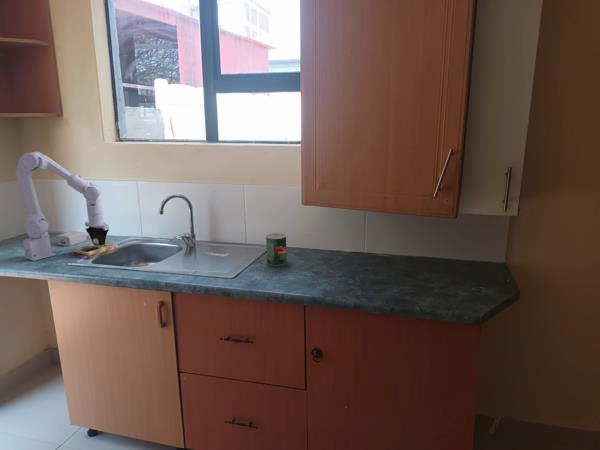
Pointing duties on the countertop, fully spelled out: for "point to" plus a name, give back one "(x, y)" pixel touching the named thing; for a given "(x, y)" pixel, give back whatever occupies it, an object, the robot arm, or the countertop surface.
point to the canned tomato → (276, 249)
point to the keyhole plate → (95, 253)
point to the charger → (71, 238)
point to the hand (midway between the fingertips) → (99, 244)
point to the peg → (96, 243)
